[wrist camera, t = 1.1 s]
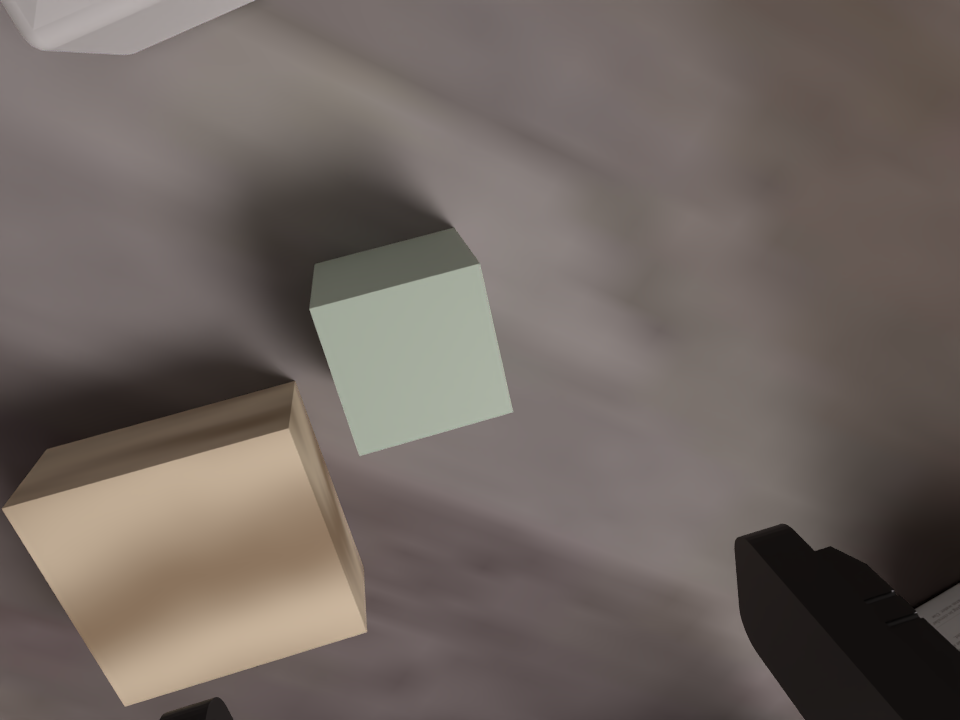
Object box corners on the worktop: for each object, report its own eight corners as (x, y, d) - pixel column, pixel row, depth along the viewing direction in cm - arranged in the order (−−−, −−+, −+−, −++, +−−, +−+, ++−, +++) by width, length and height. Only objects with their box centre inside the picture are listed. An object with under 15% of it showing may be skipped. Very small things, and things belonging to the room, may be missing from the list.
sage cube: (314, 263, 24) (309, 308, 20) (453, 227, 25) (479, 263, 20) (355, 388, 26) (359, 456, 22) (483, 353, 27) (513, 412, 22)
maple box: (50, 444, 25) (1, 508, 22) (295, 377, 26) (288, 428, 22) (151, 626, 29) (125, 706, 25) (363, 562, 30) (366, 632, 26)
